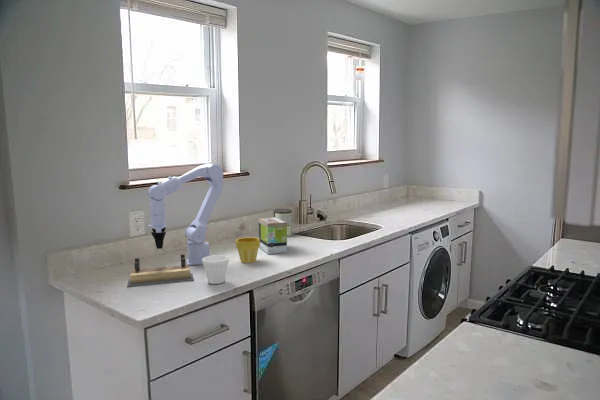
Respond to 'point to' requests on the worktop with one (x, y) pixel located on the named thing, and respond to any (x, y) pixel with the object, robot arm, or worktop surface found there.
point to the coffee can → (285, 218)
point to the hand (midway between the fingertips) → (159, 246)
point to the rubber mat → (159, 282)
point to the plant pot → (248, 249)
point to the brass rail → (160, 275)
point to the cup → (215, 268)
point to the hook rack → (138, 270)
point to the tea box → (273, 235)
